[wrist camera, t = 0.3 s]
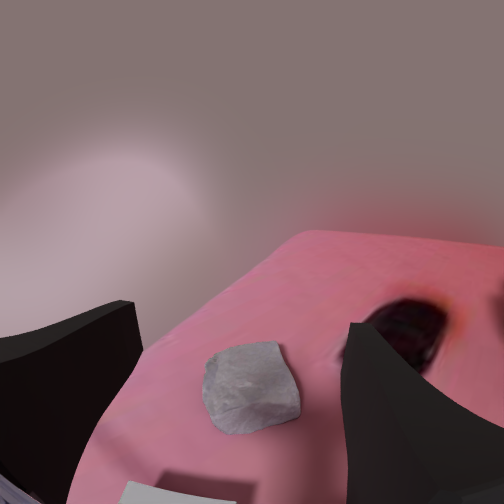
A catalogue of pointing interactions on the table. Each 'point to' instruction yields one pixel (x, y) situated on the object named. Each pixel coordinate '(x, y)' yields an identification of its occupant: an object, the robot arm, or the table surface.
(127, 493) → the plinth
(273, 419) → the stone block
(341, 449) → the table surface
